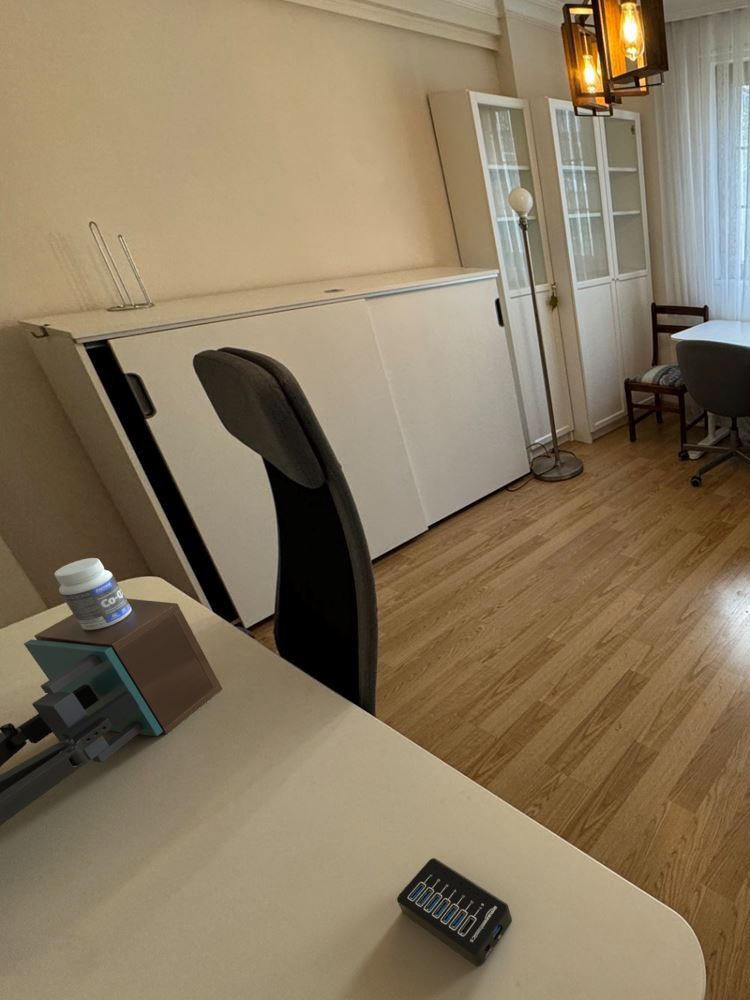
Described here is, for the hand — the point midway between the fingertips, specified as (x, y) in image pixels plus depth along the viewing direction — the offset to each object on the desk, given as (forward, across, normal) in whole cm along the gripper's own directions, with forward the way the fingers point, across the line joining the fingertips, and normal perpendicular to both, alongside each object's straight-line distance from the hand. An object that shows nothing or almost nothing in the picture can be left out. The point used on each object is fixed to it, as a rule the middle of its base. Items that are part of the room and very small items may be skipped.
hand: (111, 695), depth 71 cm
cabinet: (+5, -4, -8) cm, 11 cm away
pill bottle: (+5, -4, +7) cm, 10 cm away
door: (-2, -3, -8) cm, 9 cm away
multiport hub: (-11, +55, -8) cm, 56 cm away
